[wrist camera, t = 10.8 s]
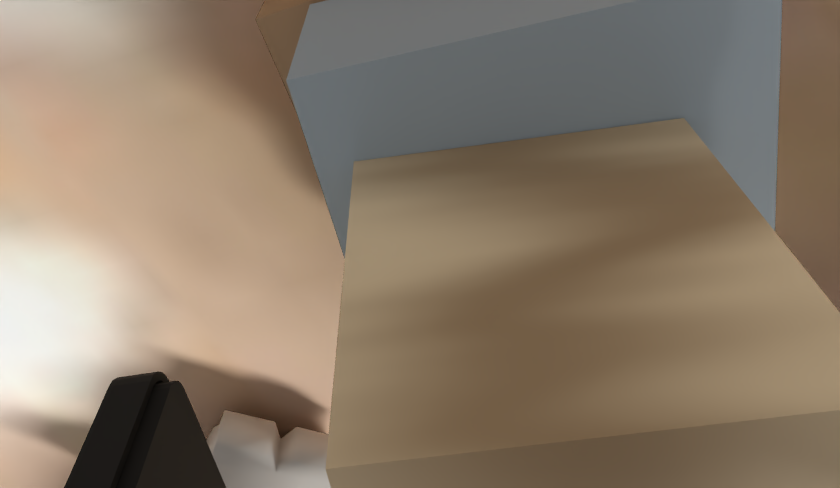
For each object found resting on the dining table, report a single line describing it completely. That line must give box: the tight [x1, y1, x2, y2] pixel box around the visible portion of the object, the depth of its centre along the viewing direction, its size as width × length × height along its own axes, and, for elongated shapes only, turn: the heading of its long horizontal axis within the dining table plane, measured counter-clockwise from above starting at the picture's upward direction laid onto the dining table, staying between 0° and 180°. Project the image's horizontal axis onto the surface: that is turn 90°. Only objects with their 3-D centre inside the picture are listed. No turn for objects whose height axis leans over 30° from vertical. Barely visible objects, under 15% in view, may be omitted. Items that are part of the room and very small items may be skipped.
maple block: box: [326, 118, 840, 488], centre depth 10 cm, size 5×5×6 cm
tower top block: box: [286, 0, 782, 258], centre depth 14 cm, size 7×7×4 cm
